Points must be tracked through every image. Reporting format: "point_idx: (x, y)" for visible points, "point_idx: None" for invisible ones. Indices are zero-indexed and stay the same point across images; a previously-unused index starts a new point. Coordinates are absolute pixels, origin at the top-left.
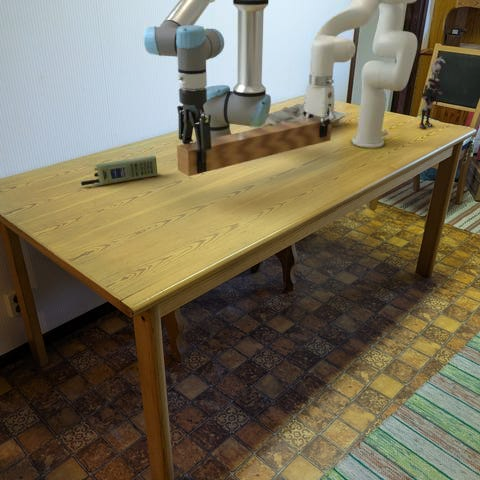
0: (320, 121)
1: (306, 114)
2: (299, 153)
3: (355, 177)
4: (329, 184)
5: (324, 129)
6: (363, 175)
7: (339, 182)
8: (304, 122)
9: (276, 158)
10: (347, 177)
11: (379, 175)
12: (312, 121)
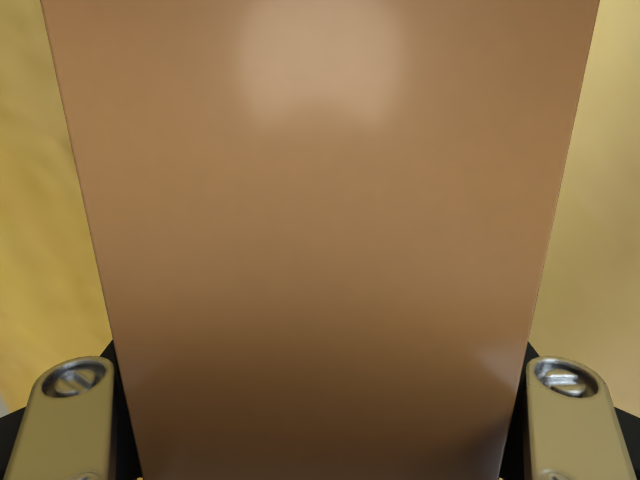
0: (160, 423)
1: (616, 453)
2: (546, 287)
3: (48, 274)
4: (12, 53)
5: (109, 349)
6: (55, 328)
7: (17, 137)
8: (286, 48)
9: (608, 92)
10: (68, 237)
11: (21, 388)
12: (246, 294)
